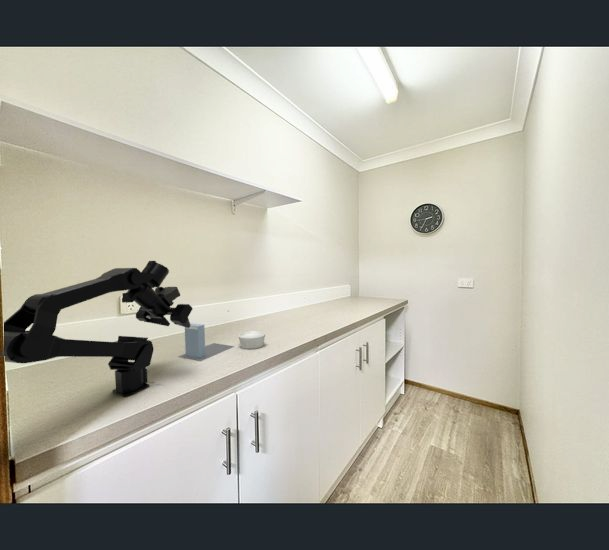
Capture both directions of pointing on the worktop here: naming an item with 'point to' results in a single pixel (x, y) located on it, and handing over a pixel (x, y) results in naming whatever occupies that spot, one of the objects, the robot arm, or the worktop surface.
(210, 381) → the worktop surface
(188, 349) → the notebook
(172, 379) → the worktop surface
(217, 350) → the mat
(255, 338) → the ramekin
